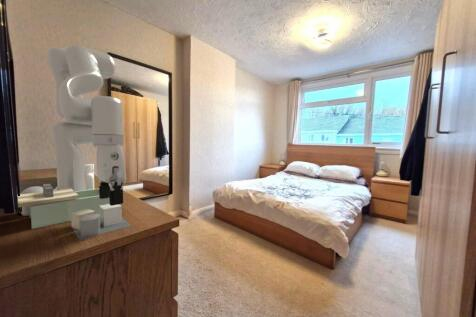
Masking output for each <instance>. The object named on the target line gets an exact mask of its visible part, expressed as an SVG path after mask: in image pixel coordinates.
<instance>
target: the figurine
mask: <svg viewBox="0 0 476 317" xmlns="http://www.w3.org/2000/svg"><path fill="white" fill-rule="evenodd" d="M84 166H85V184H86V190H90V189H95V163H89V164H88V163H87V164H85V165H84Z"/></svg>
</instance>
